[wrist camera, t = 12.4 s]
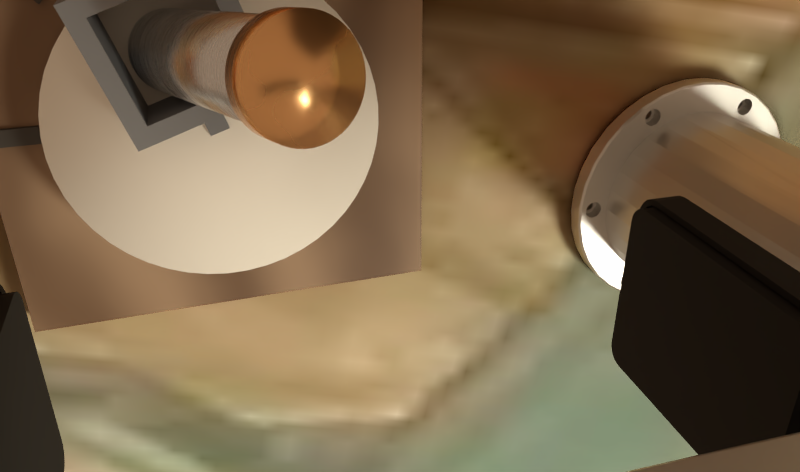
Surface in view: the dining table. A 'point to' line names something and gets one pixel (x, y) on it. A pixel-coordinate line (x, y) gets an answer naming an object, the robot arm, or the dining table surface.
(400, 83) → the panel
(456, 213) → the dining table surface
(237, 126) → the dial
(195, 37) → the peg
